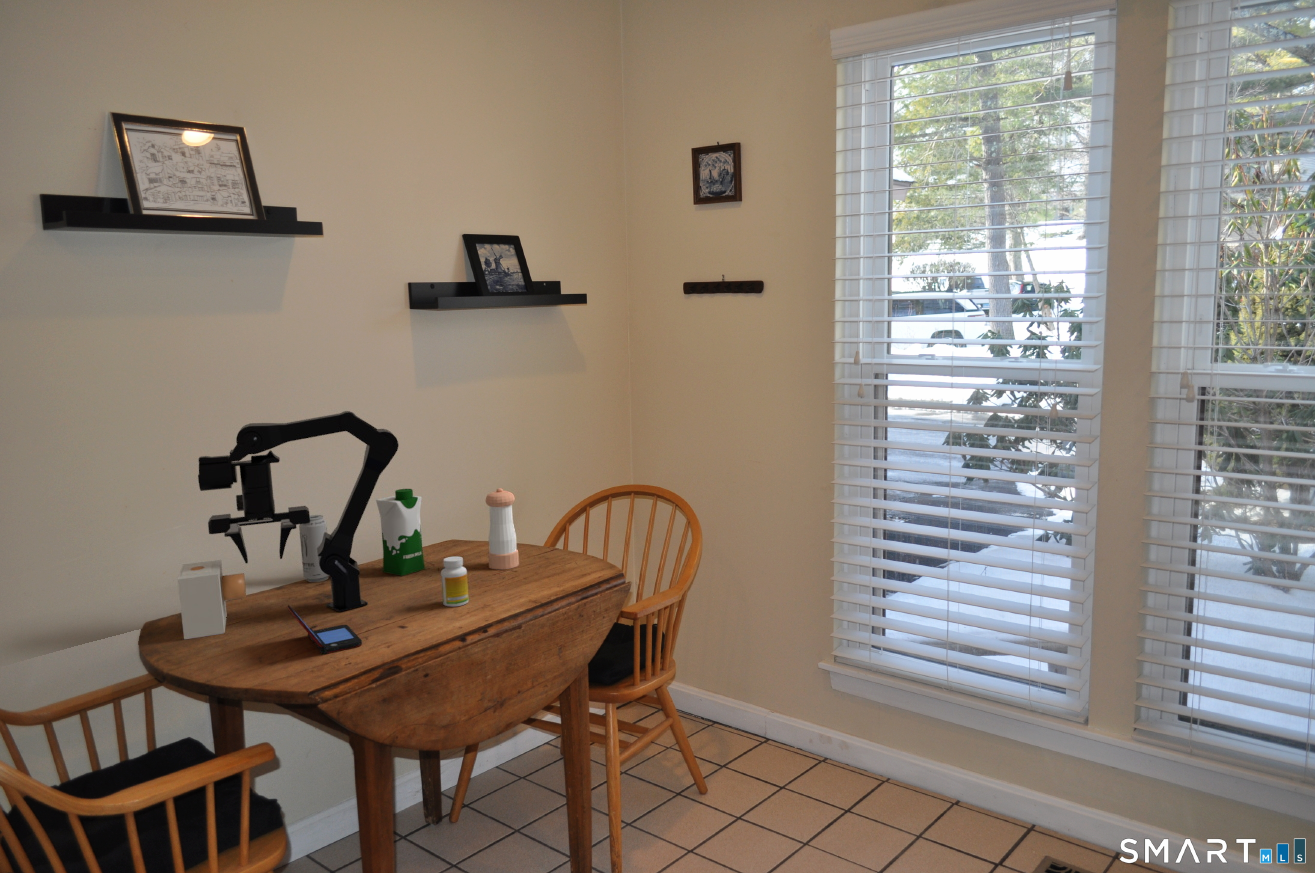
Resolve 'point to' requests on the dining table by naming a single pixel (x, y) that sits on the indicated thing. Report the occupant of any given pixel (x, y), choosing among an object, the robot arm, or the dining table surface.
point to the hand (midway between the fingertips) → (264, 560)
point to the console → (202, 599)
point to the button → (233, 586)
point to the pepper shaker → (502, 531)
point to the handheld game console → (331, 637)
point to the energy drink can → (312, 548)
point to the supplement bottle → (454, 582)
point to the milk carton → (401, 533)
